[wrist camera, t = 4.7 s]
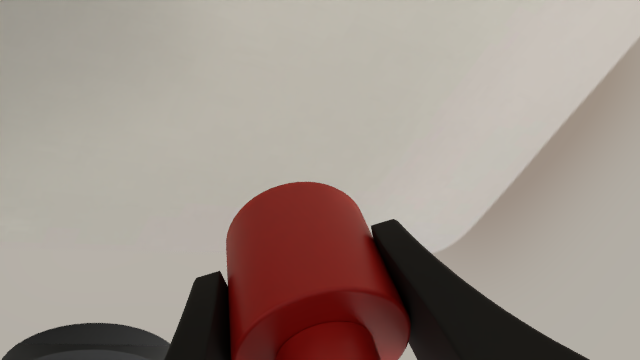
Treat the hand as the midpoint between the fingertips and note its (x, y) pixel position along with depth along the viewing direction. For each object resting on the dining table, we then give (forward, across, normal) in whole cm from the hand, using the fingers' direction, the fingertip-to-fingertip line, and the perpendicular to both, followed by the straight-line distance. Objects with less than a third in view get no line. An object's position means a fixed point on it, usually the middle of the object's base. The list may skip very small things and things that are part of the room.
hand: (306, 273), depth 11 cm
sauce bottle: (+1, 0, 0) cm, 1 cm away
